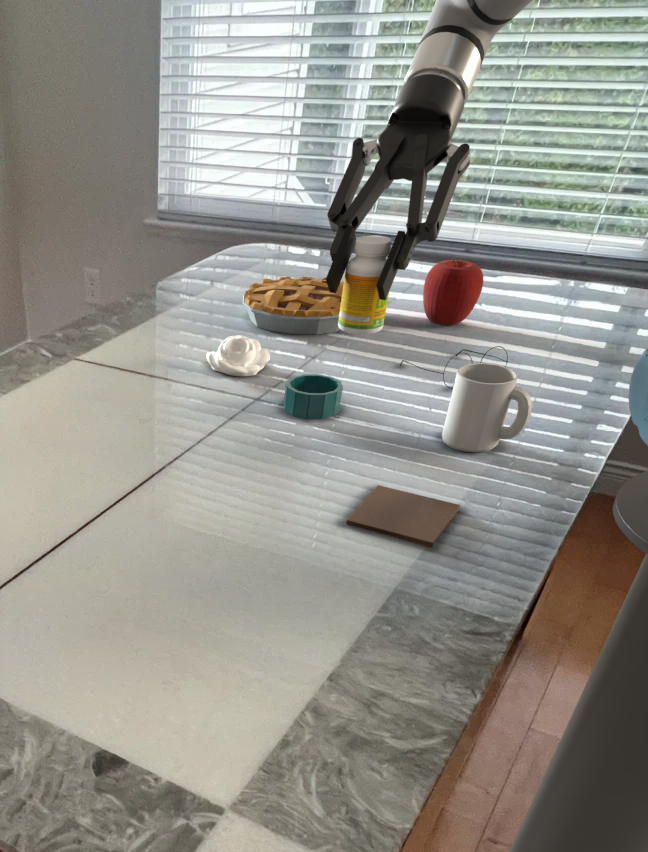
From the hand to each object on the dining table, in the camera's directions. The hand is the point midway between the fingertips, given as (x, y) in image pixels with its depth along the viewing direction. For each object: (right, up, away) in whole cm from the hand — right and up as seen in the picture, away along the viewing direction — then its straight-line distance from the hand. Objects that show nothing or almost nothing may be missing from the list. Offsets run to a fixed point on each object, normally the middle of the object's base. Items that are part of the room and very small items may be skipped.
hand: (355, 289), depth 97 cm
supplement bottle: (+2, -2, +6) cm, 7 cm away
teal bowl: (+1, -5, +25) cm, 25 cm away
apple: (+31, +20, +50) cm, 62 cm away
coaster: (+6, -26, +1) cm, 27 cm away
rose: (-8, +7, +38) cm, 39 cm away
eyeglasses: (+24, +4, +33) cm, 41 cm away
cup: (+21, -13, +14) cm, 29 cm away
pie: (+6, +23, +55) cm, 60 cm away
